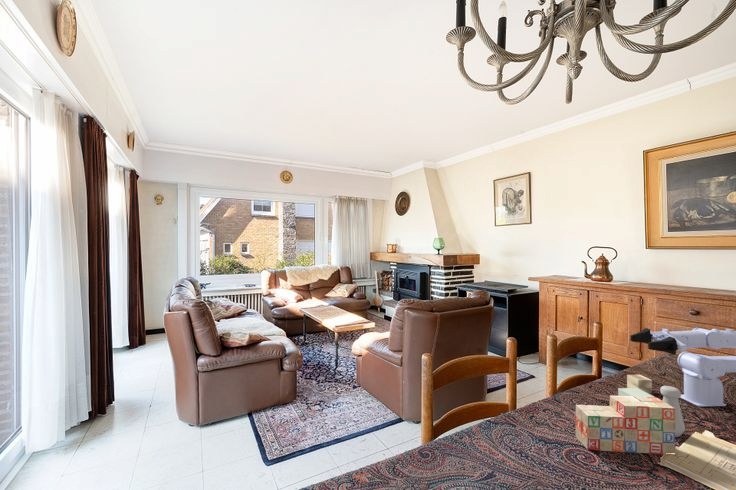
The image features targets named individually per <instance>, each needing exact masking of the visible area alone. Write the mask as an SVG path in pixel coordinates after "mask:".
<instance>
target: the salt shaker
mask: <svg viewBox="0 0 736 490" xmlns="http://www.w3.org/2000/svg"><path fill="white" fill-rule="evenodd" d="M659 389H660V390H659V391H660V393H661V395H662V396H663V397H662V401H664V402H665V403H667V404H669V405H670V406H672V407H673V408H675V421H676V422H675V423H676V424H675V425H676V427H675V428H676V429H675V438H678V437H682V435H683V434H684V432H685V430H686V427H685V426H686V425H685V422H684V417H683V414H682V409H681V406H680V402H679V399H681V398H680V397H681V395H682V392H681V390H680V389H679V388H676V387H674V386H670V385H662V386H660V388H659Z"/></svg>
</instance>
